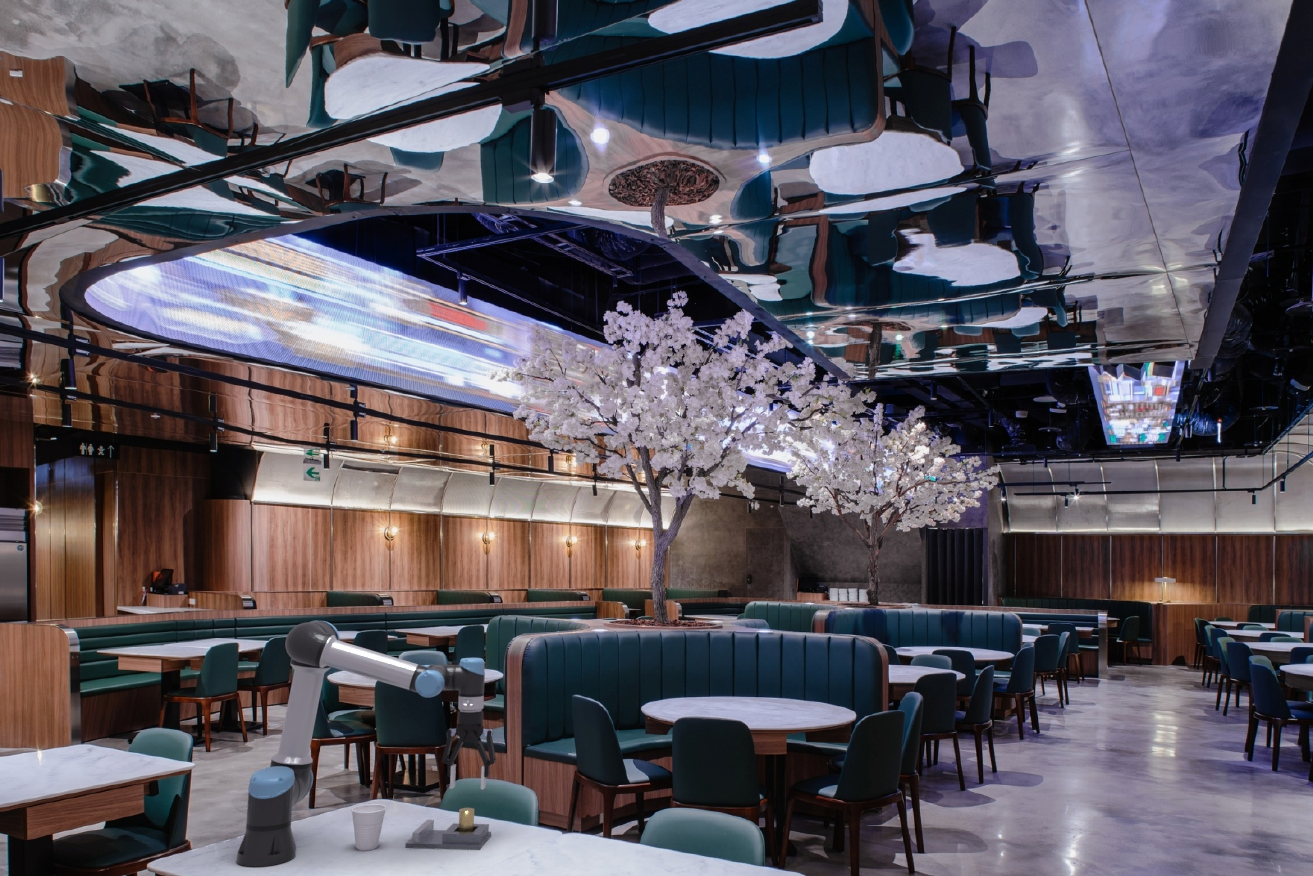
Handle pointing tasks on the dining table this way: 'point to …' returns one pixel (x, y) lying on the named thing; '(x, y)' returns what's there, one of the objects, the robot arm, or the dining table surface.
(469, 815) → the cylinder
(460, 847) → the jig
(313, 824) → the dining table surface
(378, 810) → the cup
